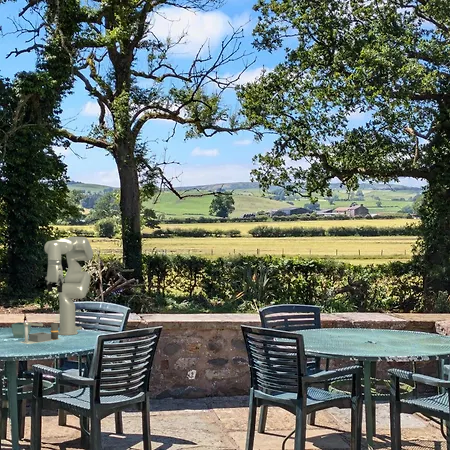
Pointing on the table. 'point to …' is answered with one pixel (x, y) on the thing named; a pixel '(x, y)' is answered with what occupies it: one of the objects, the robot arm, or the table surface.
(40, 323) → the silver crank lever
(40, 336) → the socket plate
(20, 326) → the flower pot
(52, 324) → the plug
